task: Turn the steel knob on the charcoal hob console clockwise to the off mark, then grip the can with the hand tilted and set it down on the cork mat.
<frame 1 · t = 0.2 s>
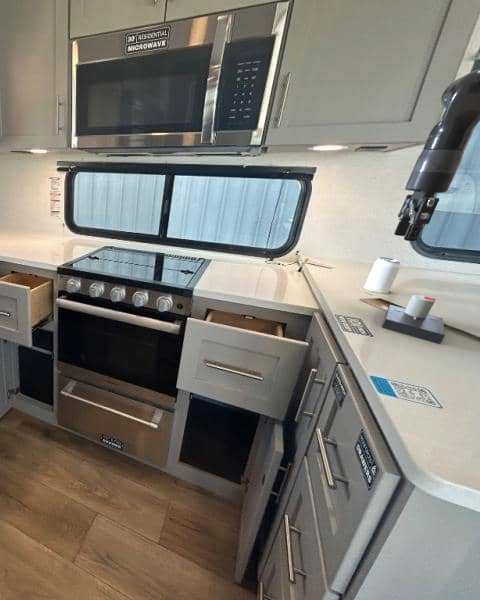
hand: (403, 238, 85), 22 cm above the countertop, tool pointing down, fingers open, 8 cm apart
cork mat: (393, 307, 101), on the countertop
can: (374, 294, 112), on the countertop
hob: (410, 326, 88), on the countertop
knob: (419, 305, 88), point 5 cm above the countertop, hinge at 90.0°
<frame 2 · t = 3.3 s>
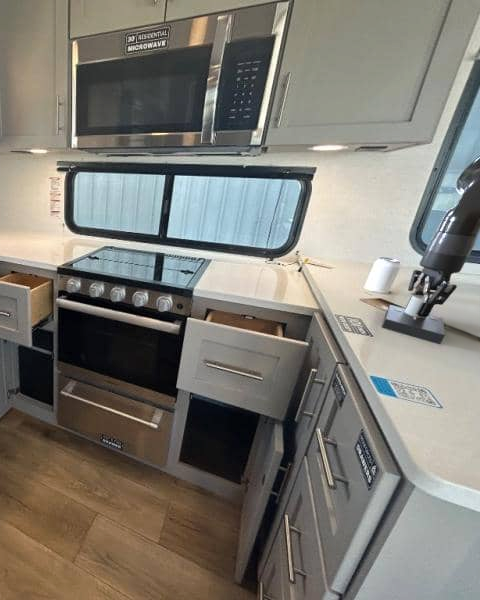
hand: (416, 312, 89), 3 cm above the countertop, tool pointing down, fingers closed on knob, 4 cm apart
knob: (419, 305, 88), point 5 cm above the countertop, hinge at 90.2°, touching gripper
everything else where it was.
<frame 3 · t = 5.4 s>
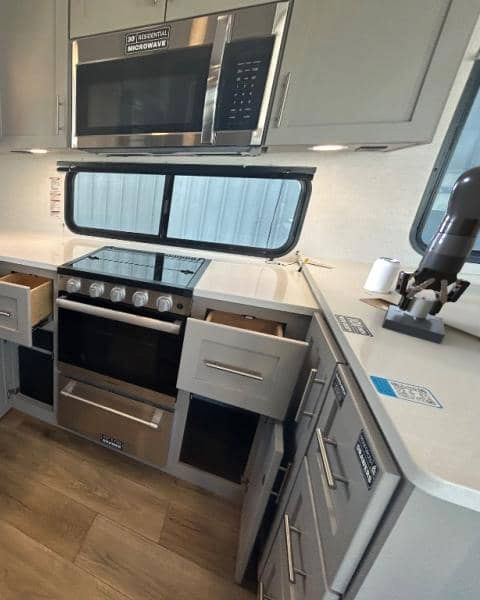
hand: (416, 311, 89), 3 cm above the countertop, tool pointing down, fingers open, 5 cm apart
knob: (419, 305, 88), point 5 cm above the countertop, hinge at -5.3°
everything else where it was.
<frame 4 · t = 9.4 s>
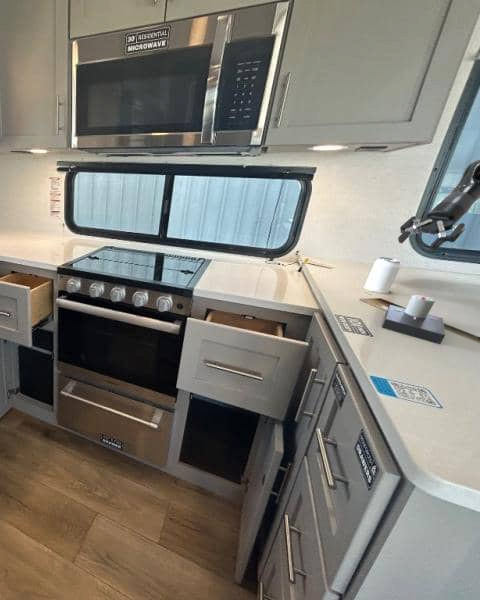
hand: (415, 244, 109), 17 cm above the countertop, tool tilted 45°, fingers open, 8 cm apart
nothing on the countertop moved.
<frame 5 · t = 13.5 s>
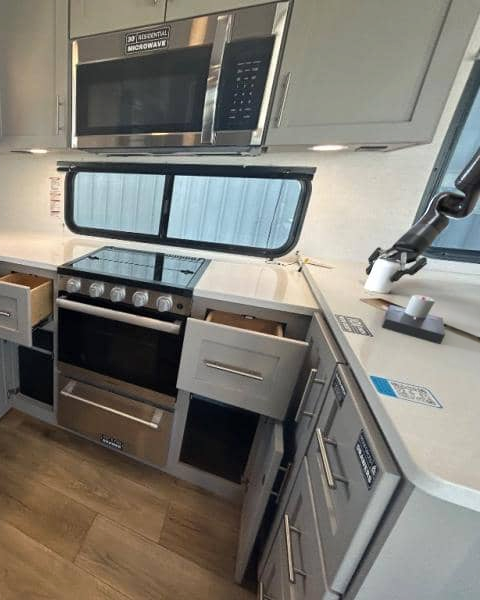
hand: (379, 276, 109), 6 cm above the countertop, tool tilted 45°, fingers closed on can, 6 cm apart
can: (374, 294, 112), on the countertop, touching gripper
everything else where it was.
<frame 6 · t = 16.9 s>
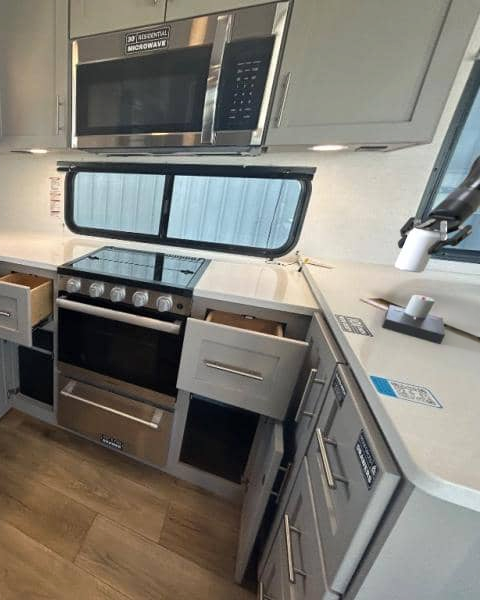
hand: (414, 249, 95), 18 cm above the countertop, tool tilted 45°, fingers closed on can, 6 cm apart
can: (408, 270, 98), point 11 cm above the countertop, touching gripper
everything else where it was.
when the fingers open (7 cm above the countertop, at t = 20.7 s): can stays where it is, resting on cork mat.
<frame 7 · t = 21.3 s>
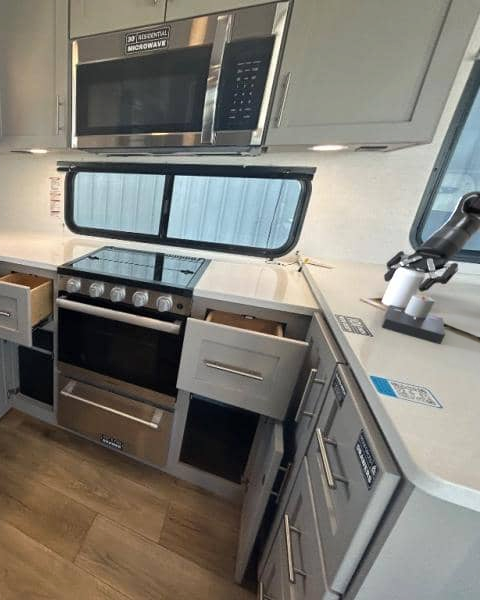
hand: (402, 284, 97), 8 cm above the countertop, tool tilted 45°, fingers open, 8 cm apart
can: (394, 306, 101), resting on cork mat
everything else where it was.
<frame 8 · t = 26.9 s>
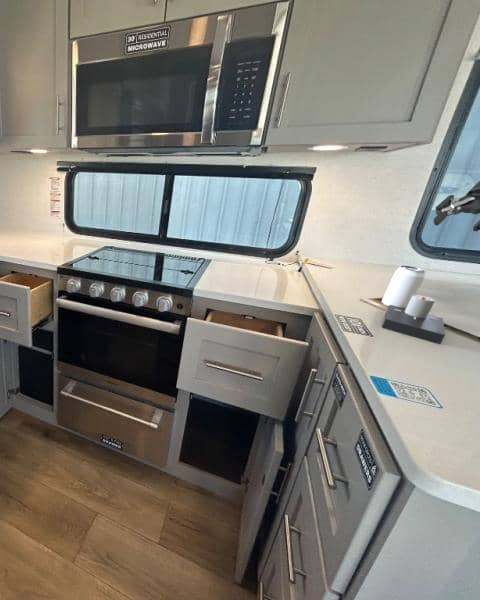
hand: (454, 226, 95), 25 cm above the countertop, tool tilted 45°, fingers open, 8 cm apart
nothing on the countertop moved.
at the end: knob at -5° (first picture: +90°); can inside the target area on the cork mat (0.2 cm from its centre), point 0.3 cm above the cork mat's base; can tilted 0° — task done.
